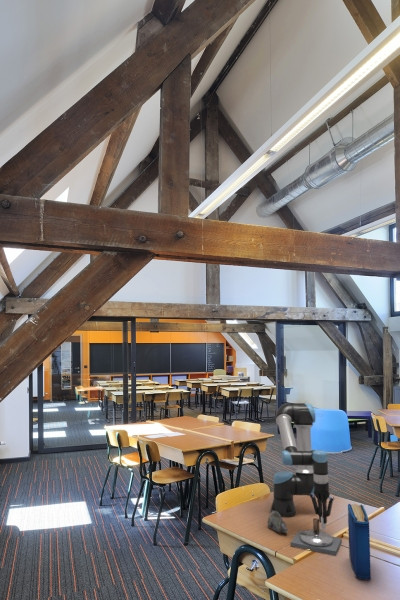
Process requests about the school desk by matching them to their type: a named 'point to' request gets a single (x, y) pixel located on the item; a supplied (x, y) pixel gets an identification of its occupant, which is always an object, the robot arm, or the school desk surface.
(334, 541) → the stand
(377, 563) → the school desk surface
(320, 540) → the crank wheel
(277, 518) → the mineral rock
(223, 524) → the school desk surface
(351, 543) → the book
